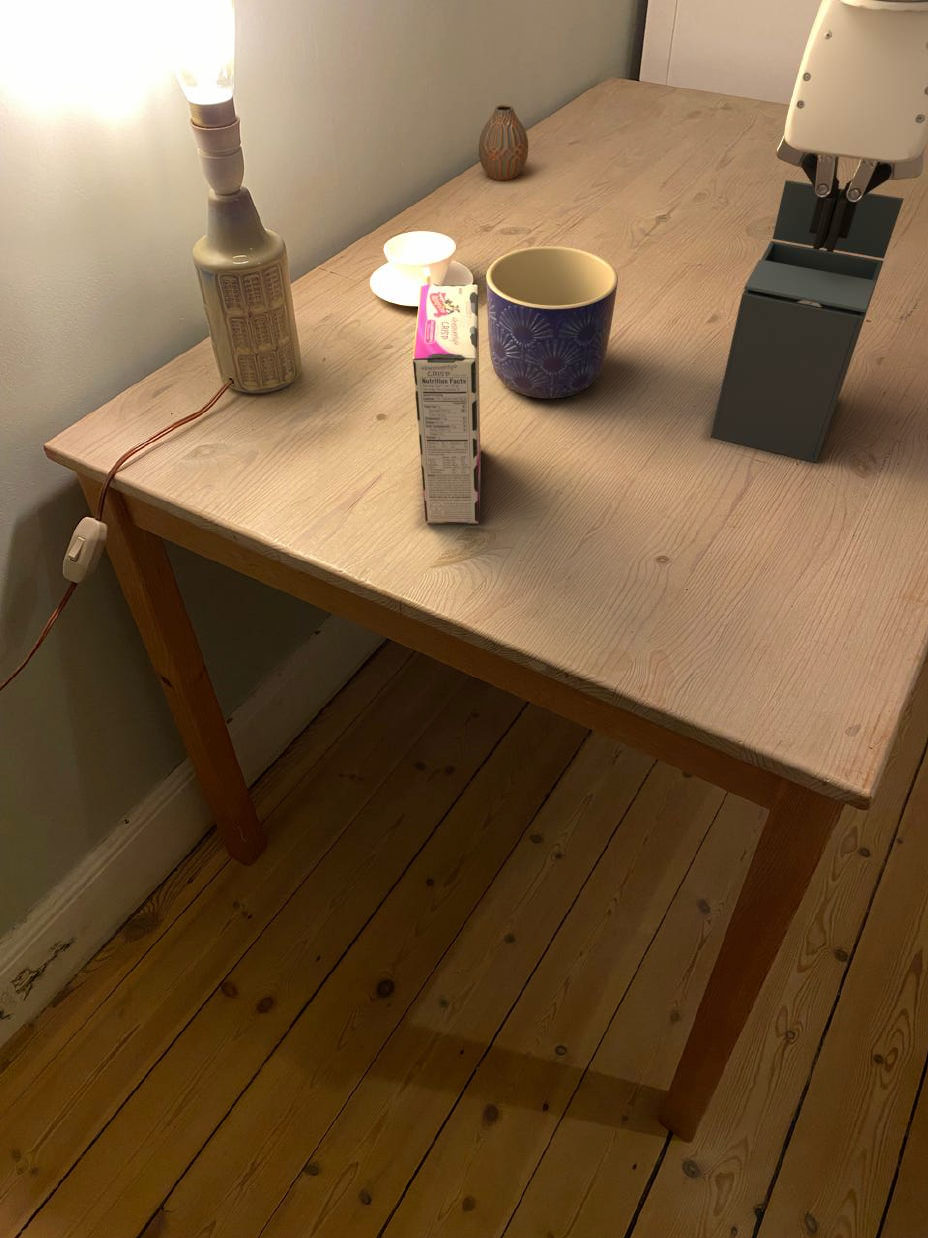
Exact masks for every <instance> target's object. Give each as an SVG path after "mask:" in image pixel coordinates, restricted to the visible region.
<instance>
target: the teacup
mask: <svg viewBox="0 0 928 1238" xmlns="http://www.w3.org/2000/svg"><path fill="white" fill-rule="evenodd" d="M383 252H384V255H385V257H386V259H387V261H388V262H387V263H386V264H384V265H382V266H380V267H379V268H377V269H376V270H375V271H374V272H373V274H372V275H371V277H370V278H369V286H370V289H371V290H372V292H373V293H374V294H375V295H376V296H377V297H379V299H382V300H384V301H386V302H389V303H393V304H396V305H400V306H407V307H418V305H419V292H420V286H424V285H432V284H436V285H439V286H441V285H474V284H473V283H474V277H473V273H472V271H471V270H470V269H469V268H468V267H466V266H465V265H464V264H462V263H460V262H458V261H456V260H453V258H454V257H455V253H456V252H457V244H456V243H455V241H454V240H453V239H452V238H451V237H449V236H447V235H446V234H442V233H438V232H433V231H410V232H406V233H401V234H399V235H396V236H394V237H391V239H389V240H388V241H387V242H386V243H384V248H383Z"/></svg>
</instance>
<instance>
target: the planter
mask: <svg viewBox="0 0 928 1238" xmlns="http://www.w3.org/2000/svg"><path fill="white" fill-rule="evenodd" d="M485 278H486V279H485V280H486V304H487V305H486V306H487V307H486V308H487V309H486V310H487V333H488V347H489V354H490V355H489V356H490V361H491V365H492V368H493V371H494V373H495V375H496V377H497V378H498V379H499V380H500V382H502V384H503V385H505V386H506V387H508V388H509V389H511V390H512V391H514V392H516V393H518V394H521V395H524V396H526V397H530V398H536V399H537V398H538V399H559V398H565V397H570V396H572V395H576V394H578V393H580V392H581V391H583V390H585V389H587V388H589V387H590V385H592V384H593V383H594V382H595V381H596V379H597V378H598V376H599V375H600V373H601V371H602V368H603V366H604V362H605V359H606V356H607V351H608V347H609V342H610V341H609V340H610V336H611V329H612V322H613V317H614V310H615V304H616V297H617V289H618V285H619V284H618V283H619V275H618V273H617V270H616V268H615V267H614V266H613V265H612V264H611V263H610V262H608V261H607V260H606V259H604V258H603V257H601V256H599V255H597V254H595V253H593V252H590V251H587V250H583V249H580V248H575V247H570V246H559V245H541V246H530V247H525V248H520V249H516V250H513V251H511V252H508V253H506V254H504V255H502V256H499V258H497V259H496V260H495V261H493V262H492V263H491V265H490V266H489V267H488V269H487V271H486V277H485Z"/></svg>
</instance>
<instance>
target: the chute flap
mask: <svg viewBox="0 0 928 1238" xmlns="http://www.w3.org/2000/svg"><path fill="white" fill-rule="evenodd" d="M875 283H876V281H874V280H868V279H863V278H858V277H852V276H847V275H841V274H836V273H830V272H825V271H820V270H814V269H809V268H803V267H798V266H792V265H787V264H781V263H776V262H771V261H765V260H761V258H760V259H759V260H757V262H756V265H755V266H754V268H753V269H752V271H751V274H750V275H749V277H748V279H747V281H746V283H745V284H744V287H743V289H744V290H745V289H747V290H752V291H758V292H763V293H768V294H773V295H778V296H783V297H788V298H793V299H799V300H804V301H809V302H814V303H819V304H824V305H829V306H835V307H840V308H845V309H850V310H855V311H860V312H866V309H867V306H868V303H869V300H870V297H871V295H872V292H873V289H874V286H875ZM876 284H877V283H876ZM875 287H876V286H875ZM874 290H875V289H874ZM873 293H874V292H873ZM872 296H873V295H872Z"/></svg>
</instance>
